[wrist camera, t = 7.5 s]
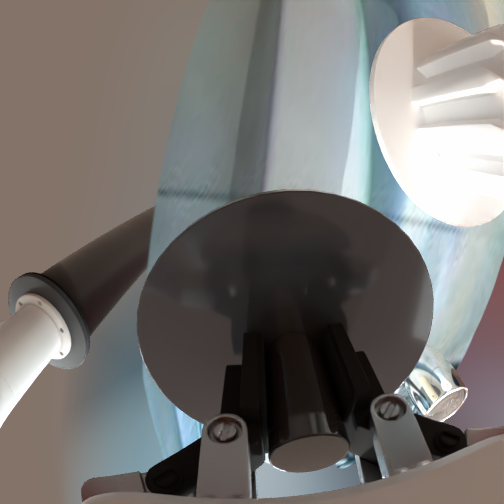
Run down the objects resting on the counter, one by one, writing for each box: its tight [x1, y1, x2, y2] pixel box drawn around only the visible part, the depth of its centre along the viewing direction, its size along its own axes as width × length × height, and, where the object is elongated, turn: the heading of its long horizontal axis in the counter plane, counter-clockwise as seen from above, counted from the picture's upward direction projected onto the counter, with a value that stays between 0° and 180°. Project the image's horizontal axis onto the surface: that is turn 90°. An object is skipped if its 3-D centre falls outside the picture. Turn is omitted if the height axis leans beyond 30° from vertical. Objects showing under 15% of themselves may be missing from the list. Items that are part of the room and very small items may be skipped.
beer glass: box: [404, 343, 468, 422], centre depth 31 cm, size 7×7×15 cm
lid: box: [137, 189, 433, 473], centre depth 9 cm, size 13×13×6 cm
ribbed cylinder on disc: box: [369, 18, 504, 227], centre depth 19 cm, size 25×25×19 cm
